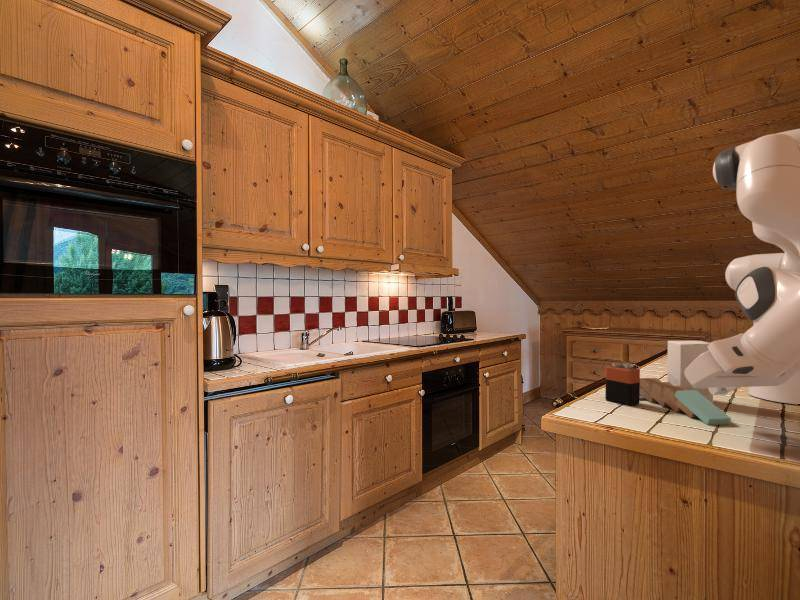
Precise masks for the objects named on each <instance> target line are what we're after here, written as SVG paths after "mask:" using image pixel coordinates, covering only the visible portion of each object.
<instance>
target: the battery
mask: <svg viewBox="0 0 800 600" xmlns="http://www.w3.org/2000/svg"><path fill="white" fill-rule="evenodd" d="M640 378H641V369H640V368H638V367H635V365H634V364H629V363H625V364H623V365H620V363H619V362H612V365H607V366H606V367H605V397H604V398H605V400H606V401H607V402H610V401H611V403H615V404H618V405H623V406H627V405H628V407H632V406H636V405H639V404H640V400H639V395H640Z"/></svg>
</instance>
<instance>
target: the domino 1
mask: <svg viewBox="0 0 800 600" xmlns="http://www.w3.org/2000/svg"><path fill="white" fill-rule="evenodd" d="M640 395H641V396H643V397H644V398H645V399H647V400H646V401H648V402H650V403H651V402H657V401H656V400H655V399H654V398H653V397H652V396H651V395H650V394H649V393H648V392H647V391H646V390H644V389H643V388H642V387H641V386H640Z"/></svg>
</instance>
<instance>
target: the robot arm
mask: <svg viewBox="0 0 800 600" xmlns="http://www.w3.org/2000/svg"><path fill="white" fill-rule="evenodd" d="M712 176H713V178H714V181H715V182H716V183H717V185H718V187H719V188H721V189H723V190H726V191H727V190H728V191H729V190H730V191H734V190H735V192H736V202H737V206H738V209H739V211H740V212H741V214H742V215H743V216H744V217H745V218H747V220H749V221H751V225H752V231H753V234H754V235H755V237H756V238H757V239H759V240H760V241H763V242H765V243H768V244H773V245H775V246H777V248H780V249H781V250H782V251H783V252H776V253H760V254H759V253H757V254H751V255H750V254H749V255H746V256H741V257H737V258H734V259H733V260H732V261H731V262H729V264H728V265H727V267H726V269H725V272H724V275H725V277H724V278H725V281H726V283H727V285H728V286H729V287H730V289H732V290H734V291H735V292H734V296H735V299H736V302H737V304H738V306H739V308H740V309H741V310H742V313H744V314H745V316H746V317H747V318H748V319H749V320H750V321H752V323H753V325H752V326H751V327H750V328H748V329H747V330H746V331H745V332H744V333H739V334H737V335H734V336H731V337H728V338H723V339H718V340H714V341H711V342H709V343H710V344H709V345H708V347H707V348H708V349H709V351H706V352H704V353H702V354H701V355H699V356H698V357H697V358H696V359H695V360H694V361H693V362H692V363H691V364H690V365H689V366H688V367H687V368H686V369H685V371H684V374H685V377H686V378H687V380H688V382H689V383H690V384H691V386H692V387H694V388H708V390H709V391H710V393H711V394H712V395H713V396H718V395H720V396H721V395H723V396H724V395H725V396H726V395H728V393H730V392H732V391H736V390H737V389H741V388H743V387H744V388H745V387H746V388H747V394H748V395H749V396H751V397H755V398H759V399H762V400H767V401H770V402H778V403H784V404H792V405H798V404H800V128H795V129H791V130H786V131H781V132H776V133H771V134H764V135H763V136H760V137H757V138H756V139H754V140H751V141H749V142H745V143H742V144H740V145H737V146H736V145H733V146H731V147H728V148H726V149H723V150H722V151H720V152H719V153H718V154H717V156H716V157H715V159H714V163H713V166H712Z"/></svg>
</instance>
